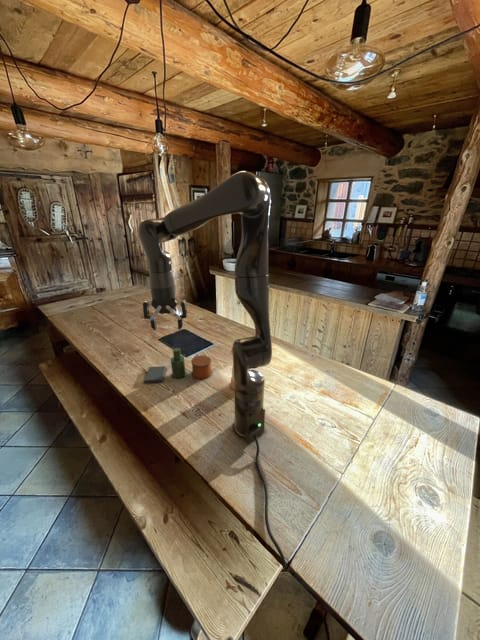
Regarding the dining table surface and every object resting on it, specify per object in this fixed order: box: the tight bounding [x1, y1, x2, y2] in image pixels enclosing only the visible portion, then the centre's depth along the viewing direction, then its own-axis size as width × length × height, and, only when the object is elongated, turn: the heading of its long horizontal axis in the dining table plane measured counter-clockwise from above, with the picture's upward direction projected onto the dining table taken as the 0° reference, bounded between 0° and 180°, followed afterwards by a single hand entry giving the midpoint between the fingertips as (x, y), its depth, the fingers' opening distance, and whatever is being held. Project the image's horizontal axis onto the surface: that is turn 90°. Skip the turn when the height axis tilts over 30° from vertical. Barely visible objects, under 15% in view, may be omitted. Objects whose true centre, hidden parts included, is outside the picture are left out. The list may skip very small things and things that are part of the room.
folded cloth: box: [143, 365, 167, 384], centre depth 115 cm, size 10×7×1 cm
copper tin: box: [190, 355, 212, 380], centre depth 115 cm, size 8×8×7 cm
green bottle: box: [170, 347, 187, 379], centre depth 113 cm, size 6×6×12 cm
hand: (167, 328), depth 93 cm, fingers open, 8 cm apart
